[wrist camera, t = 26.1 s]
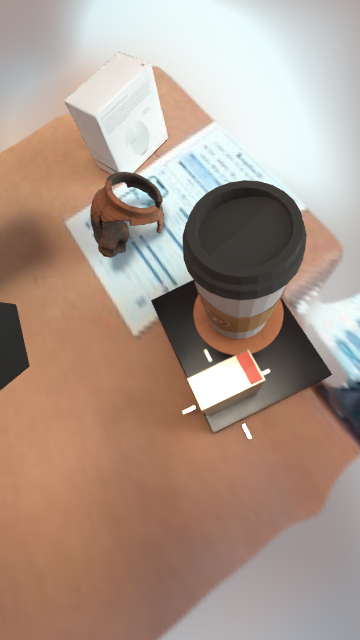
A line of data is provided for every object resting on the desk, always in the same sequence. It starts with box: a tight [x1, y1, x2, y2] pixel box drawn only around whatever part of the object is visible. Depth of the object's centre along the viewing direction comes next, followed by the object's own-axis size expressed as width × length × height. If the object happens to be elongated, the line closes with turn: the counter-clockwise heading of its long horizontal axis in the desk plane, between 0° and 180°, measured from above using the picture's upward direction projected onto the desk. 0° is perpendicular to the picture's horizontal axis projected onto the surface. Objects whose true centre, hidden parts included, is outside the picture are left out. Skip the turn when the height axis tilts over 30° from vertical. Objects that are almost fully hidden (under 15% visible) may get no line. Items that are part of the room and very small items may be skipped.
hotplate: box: [151, 280, 332, 439], centre depth 34 cm, size 18×15×3 cm
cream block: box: [187, 349, 266, 416], centre depth 27 cm, size 6×3×8 cm, turn 114°
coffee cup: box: [183, 180, 306, 339], centre depth 26 cm, size 8×8×15 cm
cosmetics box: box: [64, 52, 168, 175], centre depth 43 cm, size 10×6×10 cm, turn 140°
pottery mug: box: [90, 172, 164, 258], centre depth 40 cm, size 12×10×8 cm
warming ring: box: [193, 295, 283, 355], centre depth 34 cm, size 10×10×1 cm
